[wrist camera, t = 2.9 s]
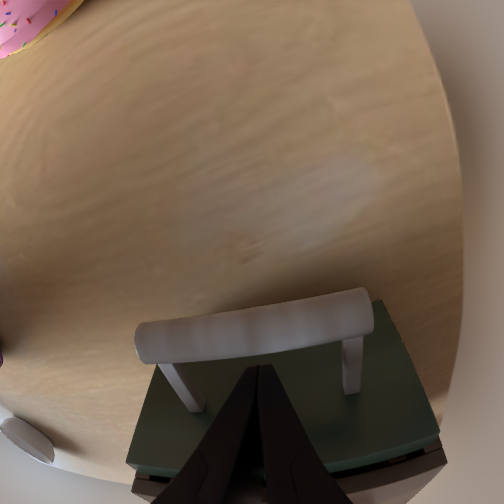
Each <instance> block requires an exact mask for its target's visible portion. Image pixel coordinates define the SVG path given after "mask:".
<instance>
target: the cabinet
mask: <svg viewBox="0 0 504 504" xmlns="http://www.w3.org/2000/svg"><path fill="white" fill-rule="evenodd" d="M406 456H407V459H406V461H404V462H401V463H398V464H394V465H391V466H388V467H384V468H380V469H377V470H373V471H369V472H365V473H360V474H356V475H351V476H347V477H342V478H336V479H334V480H335V481H336V482H337V484H338V485H339V486H340V487H341V489H342V490H343V491H344V493H345V494H346V495H347V496H348V498H349V499H350V500H351V501H352V502H353V504H406V503H407V502H408V501H409V500H410V499H412V498H413V497H414V496H415V495H416V494H417V493H418V492H419V491H420V490H421V489H422V488H423V487H425V485H427V484H428V483H429V482H430V481H431V480H432V479H433V478H434V477H435V476H436V475H437V474H438V472H439V471H440V470H441V469H442V468H443V467H444V466H445V465H446V464H447V459H446V456H445V453H444V450H443V448H442V443H441V441H440V438H439V435H438V436H437V438H436V439H435V441H434V442H433V444H432V445H430V446H427V447H425V448H422V449H419V450H416V451H413V452H410V453H407V454H406ZM169 483H170V477H162V476H155V475H148V474H142V473H139V472H138V471H136V474H135V479H134V482H133V486H132V490H131V492H132V493H134V494H135V495H137V496H139V497H141V498H143V499H144V500H146V501H148V502H150V503H151V502H152V501H153V500H154V499H155V498H156V497H157V496H158V495H159V494H160V493H161V491H162V490H163V489H164V488H165V487H166V486H167V485H168V484H169ZM261 504H268V498H267V489H266V487H263V492H262V502H261Z"/></svg>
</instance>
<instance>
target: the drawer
mask: <svg viewBox="0 0 504 504" xmlns="http://www.w3.org/2000/svg"><path fill="white" fill-rule="evenodd" d="M134 345H135V350H136V353H137V355H138V357H139V359H140V360H141V361H142V362H143V363H145V364H157V365H156V368H155V371H154V374H153V377H152V379H151V382H150V385H149V388H148V391H147V394H146V397H145V400H144V403H143V407H142V410H141V413H140V416H139V419H138V422H137V425H136V429H135V432H134V435H133V438H132V442H131V445H130V448H129V452H128V455H127V458H126V463H127V464H128V465H130V466H131V467H132V468H134V469H135V470H136V471H138V472H139V473H142V474H148V475H155V476H162V477H170V482H171V480H172V479H173V478H174V477H175V476H176V475H177V473H178V472H179V471H180V470H181V468H182V467H183V466H184V464H185V463H186V462H187V460H188V459H189V457H190V456H191V454H192V453H193V451H194V450H195V448H197V445H198V444H199V442H200V441H201V439H202V438H203V436H204V434H205V433H206V431H207V430H208V428H209V426H210V425H211V423H212V422H213V420H214V419H215V417H216V415H217V414H218V412H219V410H220V409H221V407H222V406H223V404H224V402H225V401H226V399H227V397H228V396H229V394H230V392H231V391H232V389H233V387H234V386H235V384H236V382H237V381H238V379H239V377H240V376H241V374H242V372H243V371H244V369H245V367H247V366H250V365H260V364H266V363H272V365H273V367H274V369H275V371H276V373H277V375H278V377H279V379H280V381H281V383H282V385H283V387H284V389H285V391H286V393H287V395H288V397H289V400H290V402H291V404H292V406H293V408H294V410H295V412H296V414H297V416H298V418H299V420H300V422H301V424H302V426H303V428H304V430H305V432H306V434H307V436H308V438H309V440H310V442H311V443H312V445H313V447H314V449H315V451H316V453H317V454H318V456H319V458H320V460H321V461H322V463H323V465H324V466H325V467H326V469H327V470H328V472H329V473H330V475H331V476H332V477H333V479H336V478H342V477H347V476H351V475H356V474H360V473H365V472H369V471H373V470H377V469H380V468H384V467H388V466H391V465H394V464H398V463H401V462H404V461H406V459H407V456H406V454H407V453H410V452H413V451H416V450H419V449H422V448H425V447H427V446H430V445H432V444H433V442H434V441H435V439H436V438H437V436H438V435H439V433H440V429H439V426H438V424H437V421H436V418H435V416H434V413H433V411H432V408H431V405H430V403H429V401H428V398H427V396H426V393H425V391H424V388H423V386H422V384H421V381H420V379H419V377H418V374H417V372H416V370H415V368H414V365H413V363H412V361H411V359H410V357H409V354H408V352H407V350H406V348H405V346H404V344H403V342H402V340H401V337H400V335H399V333H398V331H397V329H396V327H395V325H394V323H393V321H392V319H391V317H390V315H389V313H388V311H387V309H386V307H385V306H384V304H383V302H382V300H378V301H373V302H371V300H370V297H369V294H368V292H367V290H366V289H365V288H364V287H360V288H355V289H351V290H346V291H341V292H336V293H331V294H326V295H321V296H316V297H311V298H305V299H300V300H294V301H289V302H283V303H278V304H272V305H266V306H260V307H254V308H248V309H241V310H235V311H228V312H221V313H214V314H207V315H200V316H193V317H185V318H177V319H169V320H161V321H152V322H143V323H140V324H139V325H138V326H137V328H136V330H135V335H134ZM263 487H266V481H265V472H264V480H263Z"/></svg>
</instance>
